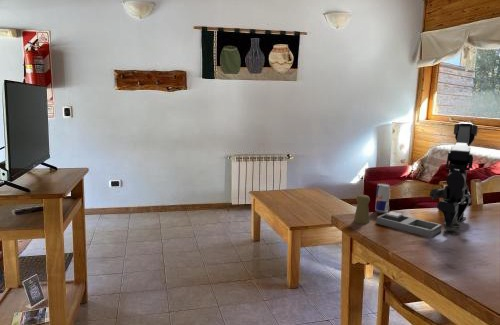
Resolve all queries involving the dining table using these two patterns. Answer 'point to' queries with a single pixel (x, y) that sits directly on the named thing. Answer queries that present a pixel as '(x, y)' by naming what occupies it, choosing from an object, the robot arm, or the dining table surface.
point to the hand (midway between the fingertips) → (452, 224)
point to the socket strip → (411, 225)
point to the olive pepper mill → (362, 209)
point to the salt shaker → (453, 227)
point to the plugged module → (394, 216)
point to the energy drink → (382, 198)
